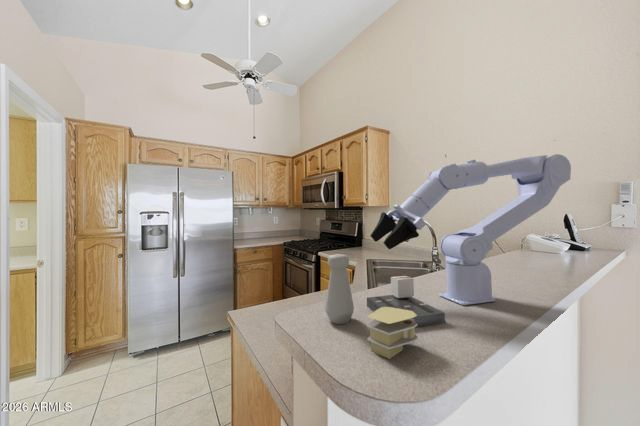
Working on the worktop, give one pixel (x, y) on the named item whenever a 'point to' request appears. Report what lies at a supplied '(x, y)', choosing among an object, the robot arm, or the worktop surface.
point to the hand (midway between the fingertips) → (379, 242)
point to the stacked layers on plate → (391, 330)
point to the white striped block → (402, 286)
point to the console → (422, 310)
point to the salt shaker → (339, 291)
